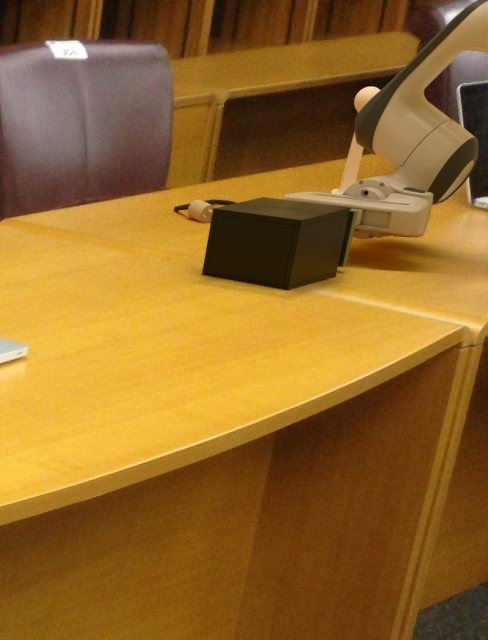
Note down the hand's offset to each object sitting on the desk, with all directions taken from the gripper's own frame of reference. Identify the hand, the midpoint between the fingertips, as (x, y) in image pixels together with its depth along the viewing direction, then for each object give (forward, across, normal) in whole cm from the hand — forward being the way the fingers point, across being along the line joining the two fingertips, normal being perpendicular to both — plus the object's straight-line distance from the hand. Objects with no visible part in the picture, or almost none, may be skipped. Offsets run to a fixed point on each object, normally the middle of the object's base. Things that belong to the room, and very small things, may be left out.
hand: (329, 218), depth 223 cm
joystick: (-51, -18, +6) cm, 54 cm away
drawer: (+9, 0, +5) cm, 10 cm away
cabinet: (+16, 0, +6) cm, 17 cm away
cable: (-24, -29, +6) cm, 39 cm away
